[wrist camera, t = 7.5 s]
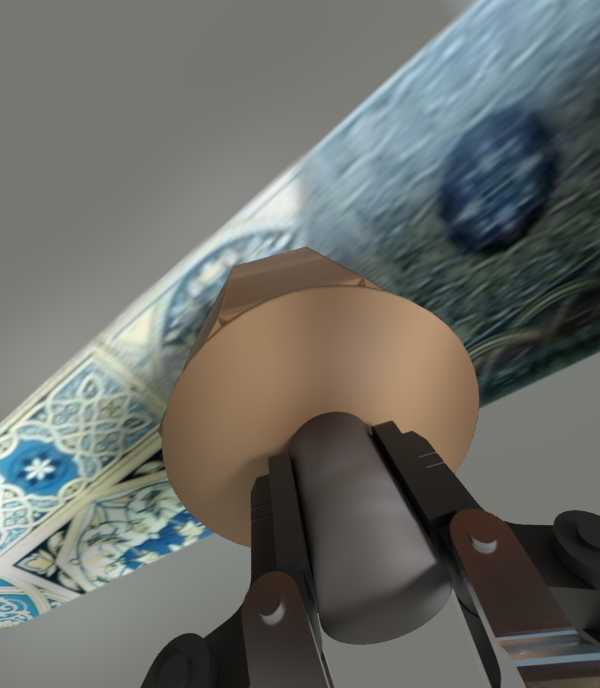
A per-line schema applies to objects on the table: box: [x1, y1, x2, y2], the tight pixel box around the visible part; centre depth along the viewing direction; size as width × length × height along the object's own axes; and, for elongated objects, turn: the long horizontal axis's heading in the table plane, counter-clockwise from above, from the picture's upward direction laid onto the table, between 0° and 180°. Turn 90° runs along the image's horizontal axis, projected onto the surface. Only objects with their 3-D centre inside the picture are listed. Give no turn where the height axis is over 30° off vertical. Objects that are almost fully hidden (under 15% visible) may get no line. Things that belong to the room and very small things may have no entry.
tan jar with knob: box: [158, 247, 479, 645], centre depth 14 cm, size 12×12×16 cm
